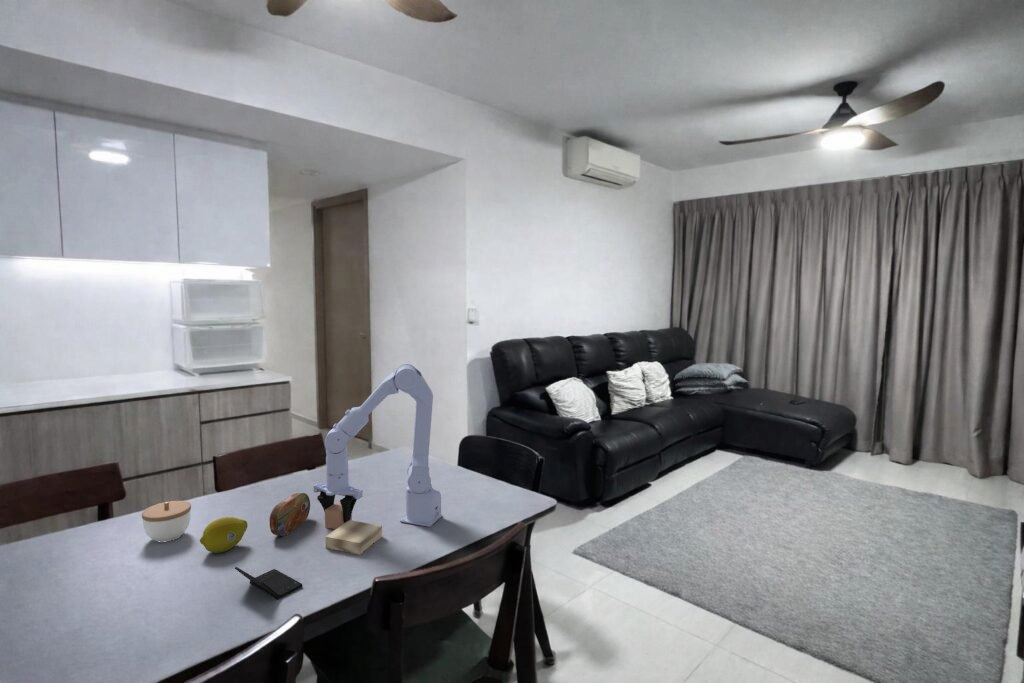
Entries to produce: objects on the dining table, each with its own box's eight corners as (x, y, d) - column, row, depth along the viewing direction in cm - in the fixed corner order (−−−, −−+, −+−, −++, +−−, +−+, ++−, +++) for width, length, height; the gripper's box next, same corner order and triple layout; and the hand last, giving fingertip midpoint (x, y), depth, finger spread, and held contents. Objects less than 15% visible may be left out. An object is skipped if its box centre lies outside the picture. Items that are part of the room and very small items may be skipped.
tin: (278, 541, 136) (277, 510, 135) (267, 540, 137) (266, 509, 136) (311, 517, 151) (310, 488, 150) (301, 515, 151) (300, 487, 151)
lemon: (203, 562, 125) (201, 530, 125) (197, 550, 131) (195, 519, 130) (252, 548, 132) (251, 518, 132) (244, 537, 138) (243, 507, 137)
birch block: (381, 536, 139) (381, 525, 139) (359, 554, 130) (359, 543, 130) (349, 530, 143) (349, 520, 142) (325, 547, 133) (325, 536, 133)
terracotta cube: (351, 522, 148) (351, 505, 147) (340, 530, 143) (340, 512, 142) (336, 519, 149) (336, 502, 149) (325, 527, 144) (324, 509, 144)
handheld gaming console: (309, 575, 118) (282, 553, 112) (291, 608, 113) (262, 587, 107) (273, 570, 123) (245, 548, 117) (255, 601, 118) (224, 581, 112)
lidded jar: (201, 532, 140) (199, 498, 139) (160, 550, 131) (158, 514, 130) (175, 524, 145) (173, 491, 144) (133, 541, 135) (131, 506, 134)
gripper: (305, 473, 143) (306, 521, 144) (351, 480, 138) (352, 530, 140) (322, 465, 150) (323, 511, 151) (366, 471, 145) (367, 519, 146)
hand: (338, 519), depth 146 cm, fingers closed on terracotta cube, 5 cm apart
